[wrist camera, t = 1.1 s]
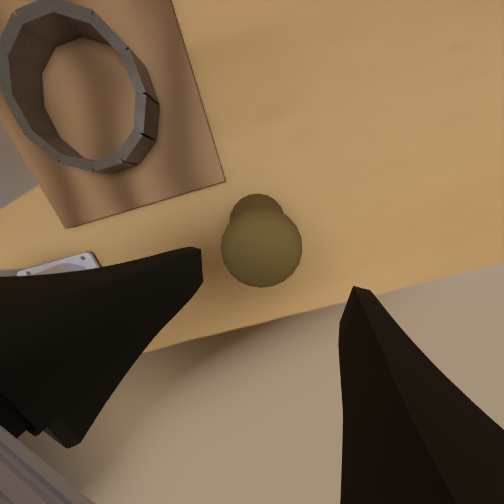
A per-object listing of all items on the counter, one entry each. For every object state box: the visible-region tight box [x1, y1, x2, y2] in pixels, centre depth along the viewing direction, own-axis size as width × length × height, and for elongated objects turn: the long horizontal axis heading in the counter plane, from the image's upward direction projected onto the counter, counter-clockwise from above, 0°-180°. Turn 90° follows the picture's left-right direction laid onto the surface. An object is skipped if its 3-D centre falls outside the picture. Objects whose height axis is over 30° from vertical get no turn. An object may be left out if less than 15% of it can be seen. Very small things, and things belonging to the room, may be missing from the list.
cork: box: [221, 194, 302, 288], centre depth 16 cm, size 6×6×11 cm
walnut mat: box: [0, 0, 226, 229], centre depth 18 cm, size 18×18×1 cm
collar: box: [0, 0, 160, 173], centre depth 16 cm, size 11×11×2 cm
